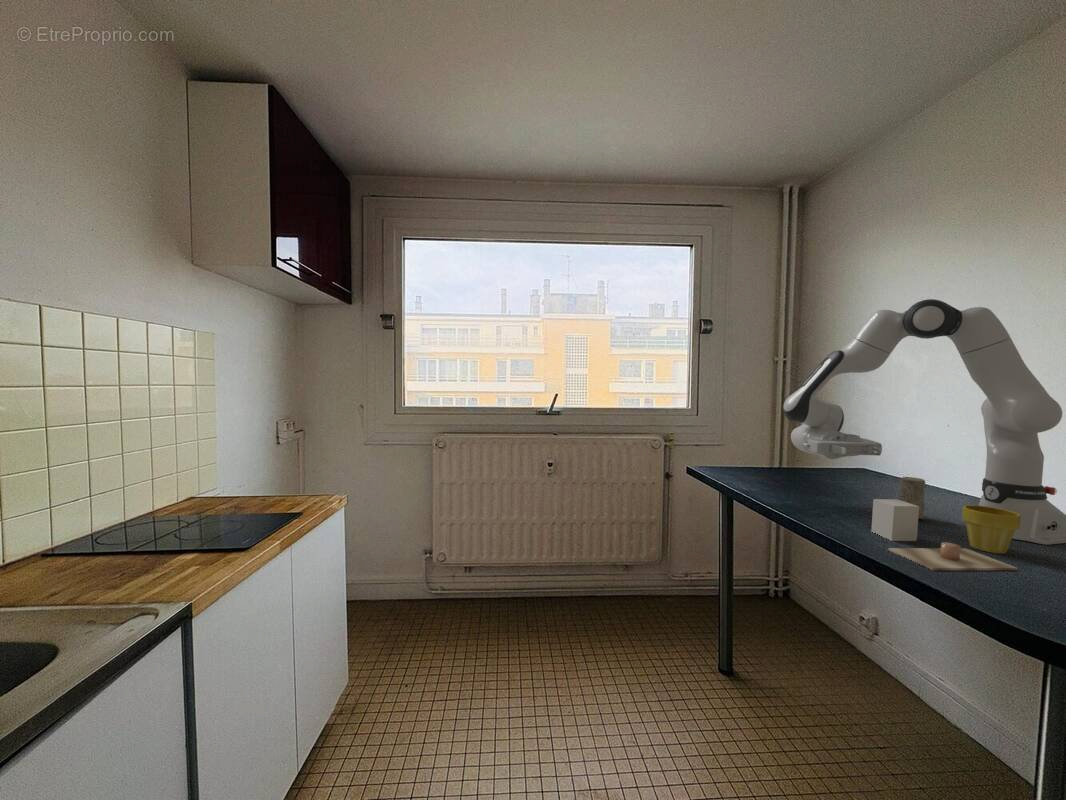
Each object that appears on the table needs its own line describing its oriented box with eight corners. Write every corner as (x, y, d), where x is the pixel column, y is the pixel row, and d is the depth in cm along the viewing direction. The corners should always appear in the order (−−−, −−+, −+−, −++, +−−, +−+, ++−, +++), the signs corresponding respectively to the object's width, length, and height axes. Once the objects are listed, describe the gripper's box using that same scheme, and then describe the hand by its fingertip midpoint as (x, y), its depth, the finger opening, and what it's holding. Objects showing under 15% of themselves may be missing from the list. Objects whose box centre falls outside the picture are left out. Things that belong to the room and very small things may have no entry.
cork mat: (965, 550, 119) (965, 548, 119) (1017, 570, 107) (1017, 568, 107) (887, 550, 117) (887, 548, 117) (932, 570, 105) (932, 568, 105)
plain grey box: (895, 532, 131) (897, 499, 131) (916, 540, 125) (919, 506, 124) (871, 532, 131) (873, 499, 130) (891, 540, 124) (894, 506, 124)
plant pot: (993, 543, 125) (996, 505, 124) (1029, 558, 114) (1033, 517, 114) (949, 540, 126) (952, 503, 125) (982, 555, 115) (985, 514, 115)
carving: (922, 516, 148) (925, 477, 147) (925, 522, 141) (928, 482, 141) (896, 513, 151) (898, 474, 150) (898, 518, 145) (901, 478, 144)
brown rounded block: (949, 554, 114) (950, 542, 114) (963, 560, 110) (964, 547, 110) (936, 554, 113) (937, 542, 113) (949, 560, 110) (950, 547, 110)
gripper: (799, 433, 152) (829, 439, 138) (861, 435, 153) (897, 441, 139) (798, 453, 152) (827, 461, 138) (860, 455, 154) (895, 463, 140)
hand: (863, 451), depth 139 cm, fingers open, 8 cm apart
